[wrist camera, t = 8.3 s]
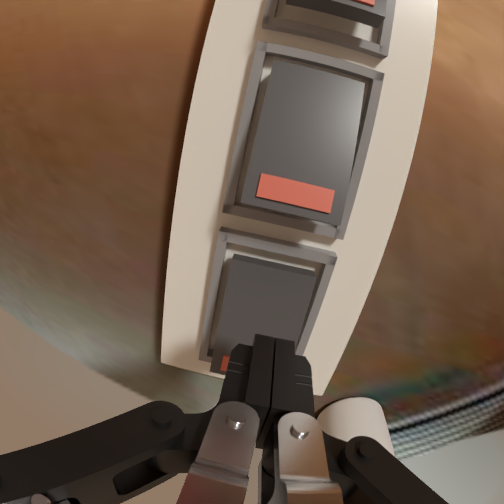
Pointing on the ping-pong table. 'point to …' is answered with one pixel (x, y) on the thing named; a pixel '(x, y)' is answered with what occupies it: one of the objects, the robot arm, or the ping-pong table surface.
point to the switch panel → (238, 157)
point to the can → (356, 420)
